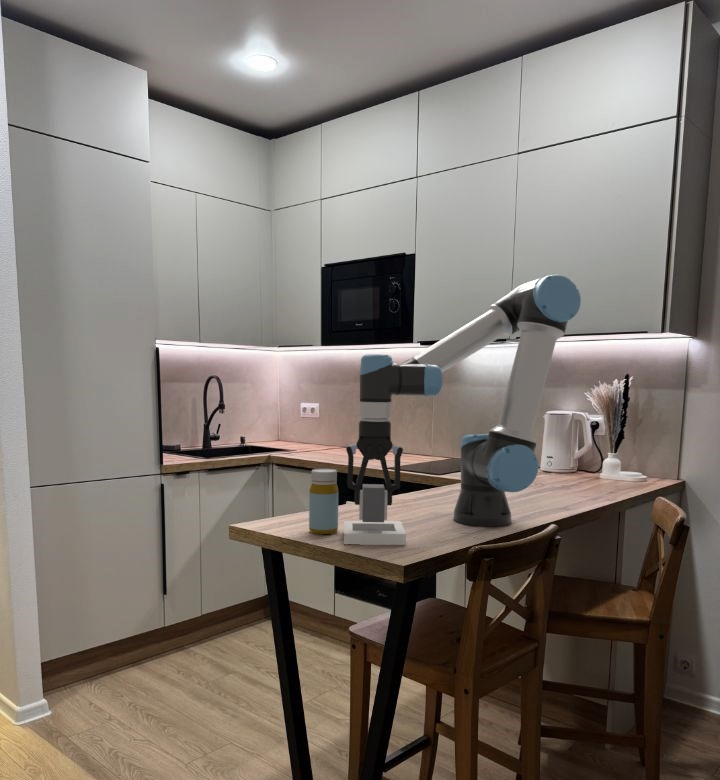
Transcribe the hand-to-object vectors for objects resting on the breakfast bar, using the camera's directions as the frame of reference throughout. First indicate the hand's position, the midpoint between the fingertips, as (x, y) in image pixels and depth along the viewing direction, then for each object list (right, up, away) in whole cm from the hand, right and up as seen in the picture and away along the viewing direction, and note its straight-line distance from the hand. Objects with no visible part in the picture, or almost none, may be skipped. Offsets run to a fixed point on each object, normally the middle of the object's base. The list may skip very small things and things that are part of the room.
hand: (372, 518), depth 146 cm
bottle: (-12, -5, +5) cm, 14 cm away
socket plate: (0, -5, 0) cm, 5 cm away
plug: (0, 0, 0) cm, 0 cm away
